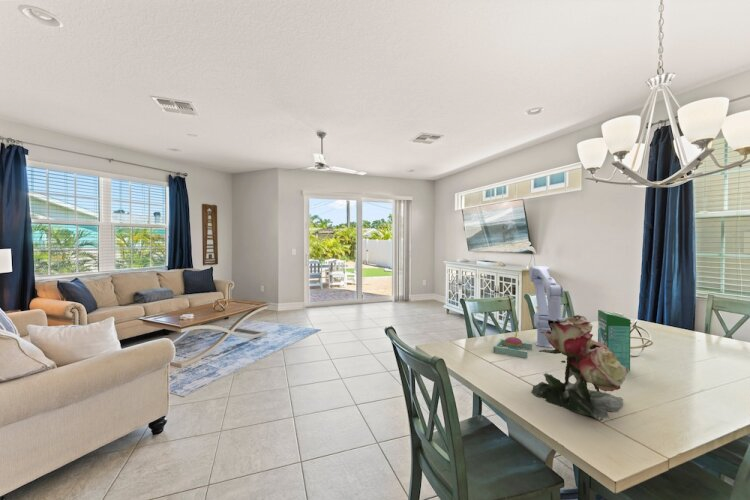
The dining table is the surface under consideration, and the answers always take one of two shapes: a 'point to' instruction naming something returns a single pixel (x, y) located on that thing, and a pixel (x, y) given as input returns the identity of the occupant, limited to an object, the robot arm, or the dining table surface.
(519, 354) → the mint green u shape
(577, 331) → the rose bouquet
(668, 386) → the dining table surface
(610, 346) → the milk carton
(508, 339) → the cupcake
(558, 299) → the robot arm
